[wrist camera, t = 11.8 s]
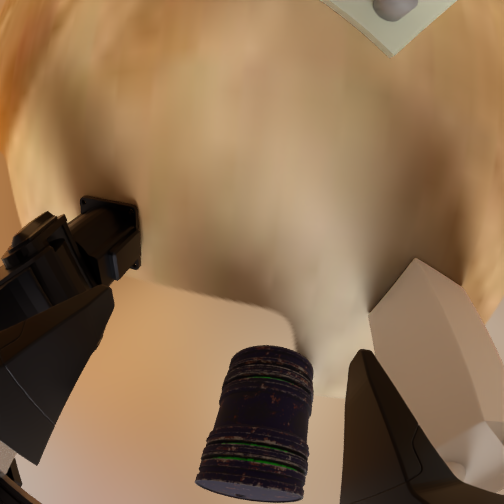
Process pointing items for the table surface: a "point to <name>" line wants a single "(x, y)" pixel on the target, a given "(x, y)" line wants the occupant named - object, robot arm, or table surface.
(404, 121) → the table surface
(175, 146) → the table surface
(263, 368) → the dark ribbed canister
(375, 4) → the peg stand
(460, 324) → the milk carton
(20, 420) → the robot arm
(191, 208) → the table surface
